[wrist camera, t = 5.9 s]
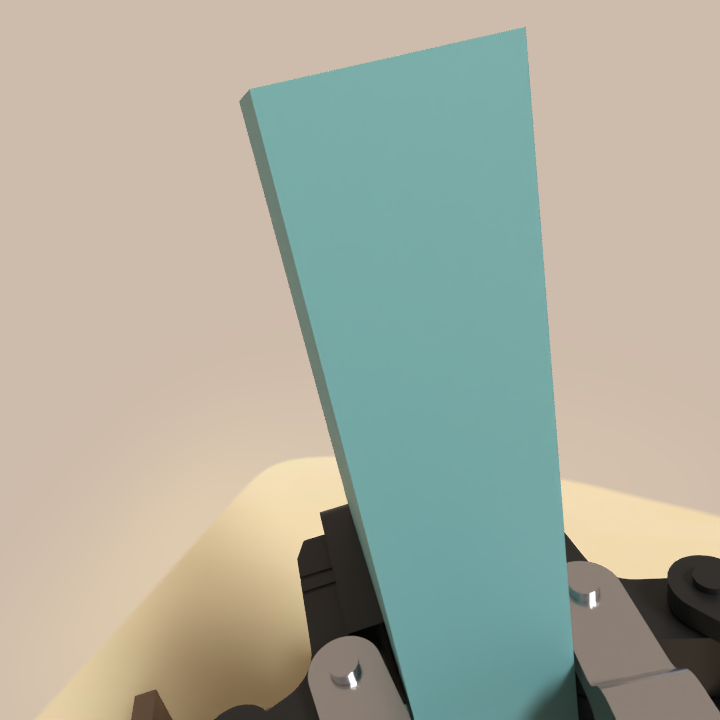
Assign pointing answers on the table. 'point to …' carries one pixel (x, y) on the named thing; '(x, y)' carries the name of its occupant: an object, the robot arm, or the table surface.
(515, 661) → the teal board
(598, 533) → the table surface
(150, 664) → the table surface
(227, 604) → the table surface
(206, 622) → the table surface
